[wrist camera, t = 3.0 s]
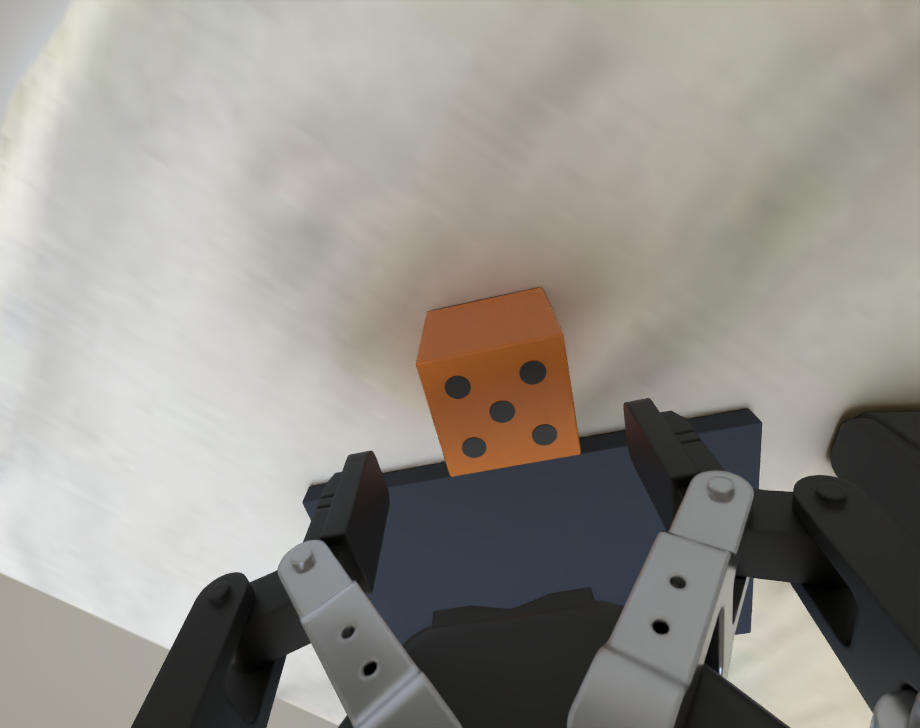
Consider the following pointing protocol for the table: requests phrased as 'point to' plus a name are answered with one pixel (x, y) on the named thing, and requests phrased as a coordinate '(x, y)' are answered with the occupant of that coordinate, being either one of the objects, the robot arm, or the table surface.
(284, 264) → the table surface
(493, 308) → the die
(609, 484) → the bed mat
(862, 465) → the dark grey rounded box
